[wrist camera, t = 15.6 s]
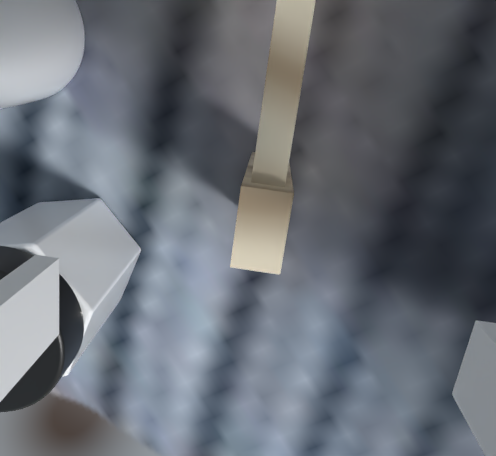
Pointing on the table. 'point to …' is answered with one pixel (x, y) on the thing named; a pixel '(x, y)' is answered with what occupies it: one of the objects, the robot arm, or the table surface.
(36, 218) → the jar
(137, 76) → the table surface
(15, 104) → the candle holder
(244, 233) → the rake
